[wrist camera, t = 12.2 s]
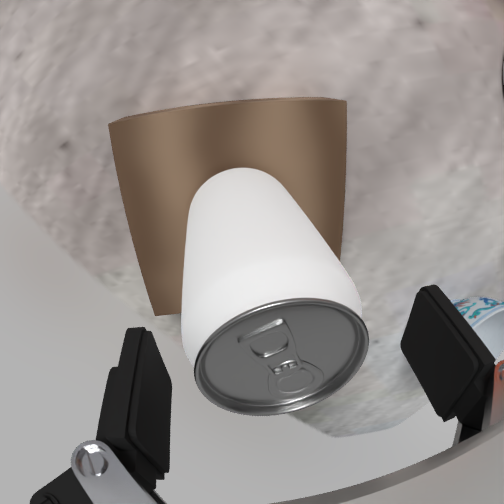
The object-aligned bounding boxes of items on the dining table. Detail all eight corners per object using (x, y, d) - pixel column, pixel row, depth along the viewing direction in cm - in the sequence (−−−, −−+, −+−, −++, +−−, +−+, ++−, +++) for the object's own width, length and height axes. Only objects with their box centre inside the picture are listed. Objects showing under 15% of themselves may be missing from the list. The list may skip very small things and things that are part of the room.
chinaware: (474, 330, 39) (500, 363, 32) (396, 372, 39) (419, 413, 33) (491, 254, 31) (529, 288, 24) (399, 300, 31) (435, 349, 25)
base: (323, 97, 20) (346, 100, 17) (320, 263, 27) (336, 290, 24) (124, 117, 19) (108, 124, 15) (159, 285, 26) (155, 315, 22)
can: (218, 275, 21) (239, 436, 11) (168, 196, 18) (134, 347, 8) (305, 234, 21) (390, 374, 11) (266, 147, 18) (360, 244, 7)
